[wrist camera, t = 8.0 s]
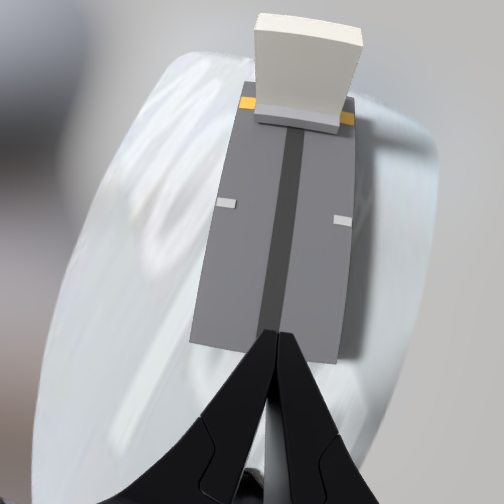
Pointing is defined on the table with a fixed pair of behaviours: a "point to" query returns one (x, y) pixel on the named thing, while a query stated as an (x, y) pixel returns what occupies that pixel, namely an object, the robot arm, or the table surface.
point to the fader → (303, 70)
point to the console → (279, 236)
